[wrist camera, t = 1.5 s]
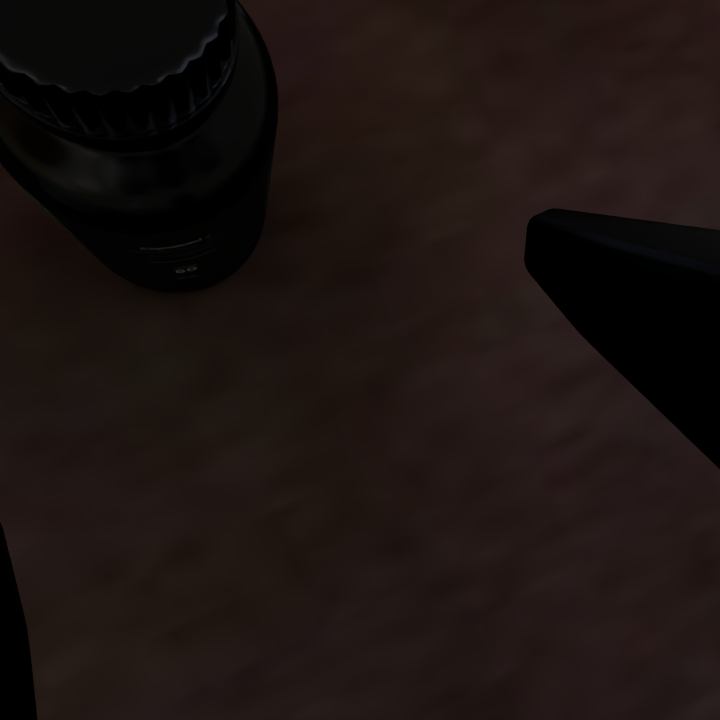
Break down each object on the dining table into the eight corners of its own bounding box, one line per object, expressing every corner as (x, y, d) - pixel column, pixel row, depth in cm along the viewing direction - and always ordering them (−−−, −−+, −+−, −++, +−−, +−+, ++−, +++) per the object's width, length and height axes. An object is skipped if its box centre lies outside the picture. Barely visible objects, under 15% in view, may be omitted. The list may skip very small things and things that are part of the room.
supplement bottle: (78, 294, 19) (-174, 139, 8) (79, 115, 20) (-158, -292, 8) (266, 297, 21) (297, 170, 9) (263, 130, 21) (289, -195, 10)
